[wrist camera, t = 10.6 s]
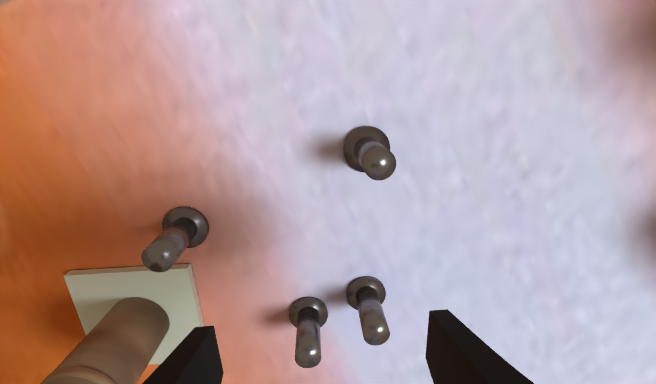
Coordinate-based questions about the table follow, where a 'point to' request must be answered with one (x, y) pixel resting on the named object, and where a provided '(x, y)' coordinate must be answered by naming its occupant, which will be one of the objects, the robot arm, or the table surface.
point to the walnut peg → (116, 346)
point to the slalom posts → (306, 313)
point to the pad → (160, 287)
